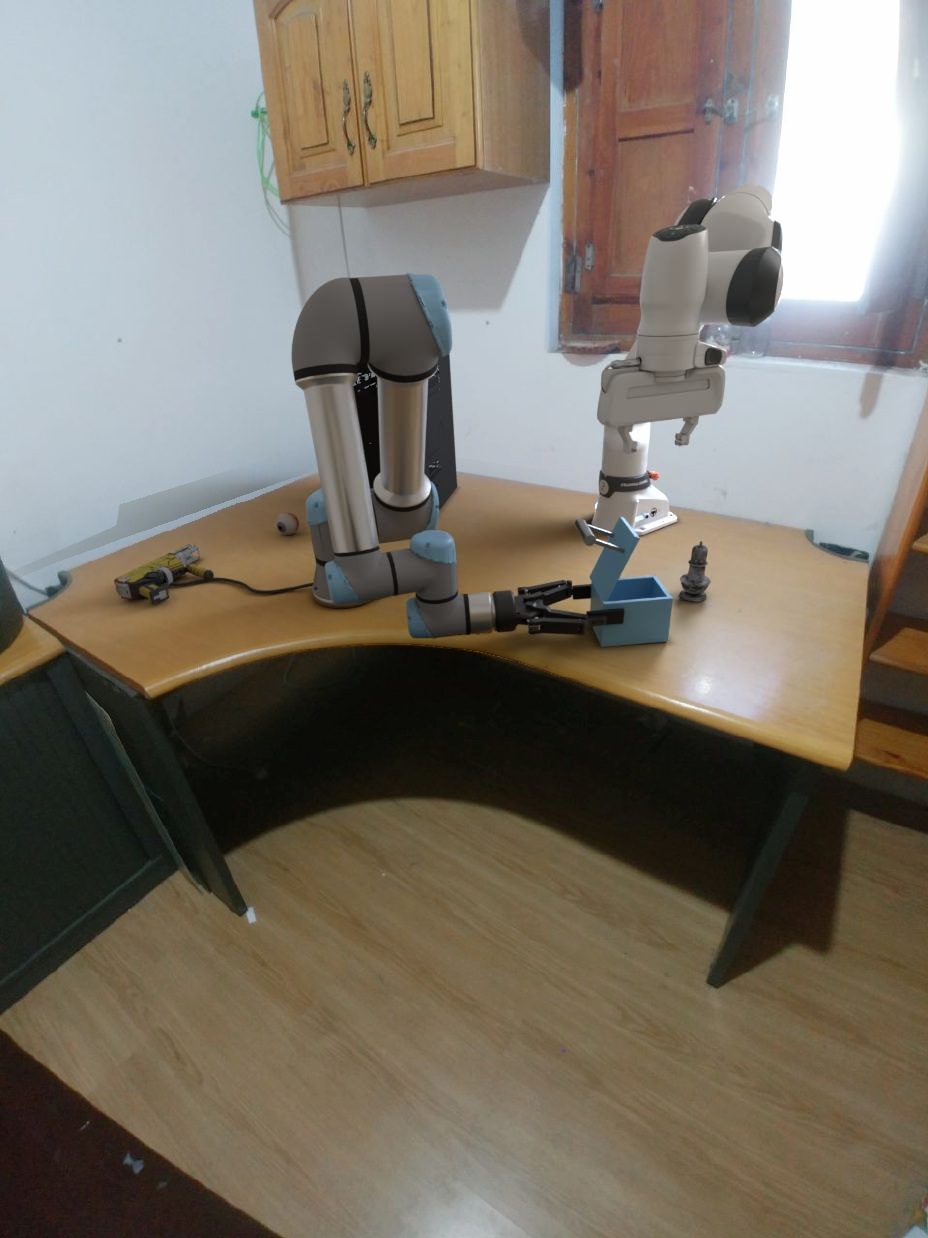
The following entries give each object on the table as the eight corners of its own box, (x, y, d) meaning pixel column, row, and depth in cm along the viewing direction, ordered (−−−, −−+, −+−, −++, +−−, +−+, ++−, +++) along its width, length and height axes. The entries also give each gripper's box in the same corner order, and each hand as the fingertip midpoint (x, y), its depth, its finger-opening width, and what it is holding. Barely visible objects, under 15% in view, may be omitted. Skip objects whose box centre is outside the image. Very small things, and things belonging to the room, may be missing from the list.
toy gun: (236, 552, 148) (186, 541, 152) (163, 592, 128) (107, 579, 132) (239, 569, 150) (189, 559, 154) (167, 611, 130) (112, 598, 134)
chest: (651, 616, 117) (655, 574, 113) (667, 641, 109) (673, 598, 105) (589, 621, 117) (591, 580, 112) (601, 647, 109) (603, 604, 104)
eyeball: (273, 537, 164) (268, 516, 161) (287, 528, 169) (282, 508, 166) (291, 539, 161) (286, 518, 158) (305, 530, 166) (301, 510, 163)
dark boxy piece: (424, 530, 162) (407, 348, 139) (353, 528, 166) (326, 351, 144) (457, 486, 193) (448, 332, 171) (397, 485, 198) (380, 334, 175)
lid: (624, 518, 107) (581, 503, 105) (640, 538, 99) (594, 522, 97) (593, 578, 112) (552, 565, 111) (606, 602, 104) (562, 588, 103)
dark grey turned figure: (710, 602, 120) (719, 547, 114) (679, 601, 121) (687, 546, 115) (706, 589, 125) (715, 535, 119) (676, 588, 126) (683, 534, 120)
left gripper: (486, 602, 120) (597, 593, 121) (500, 663, 101) (632, 652, 102) (485, 567, 117) (599, 558, 117) (499, 625, 98) (636, 613, 98)
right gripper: (613, 363, 84) (607, 462, 91) (737, 350, 89) (722, 445, 96) (592, 359, 89) (587, 452, 96) (710, 347, 94) (697, 437, 101)
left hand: (614, 602), depth 110 cm, fingers closed on chest, 9 cm apart
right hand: (655, 448), depth 96 cm, fingers open, 8 cm apart
